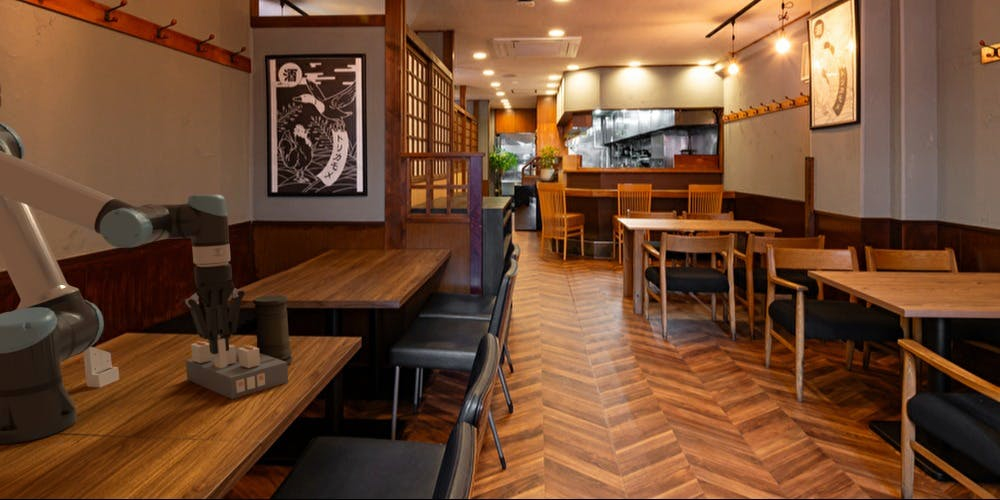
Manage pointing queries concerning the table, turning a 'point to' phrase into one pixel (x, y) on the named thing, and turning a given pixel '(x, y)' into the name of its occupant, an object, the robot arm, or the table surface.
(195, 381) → the switch unit
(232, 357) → the knob mid
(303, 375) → the table surface
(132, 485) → the table surface
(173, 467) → the table surface
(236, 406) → the table surface
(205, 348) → the knob far
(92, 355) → the white wedge bracket
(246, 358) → the knob near
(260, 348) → the container
